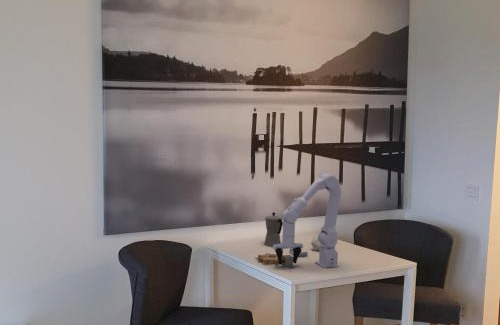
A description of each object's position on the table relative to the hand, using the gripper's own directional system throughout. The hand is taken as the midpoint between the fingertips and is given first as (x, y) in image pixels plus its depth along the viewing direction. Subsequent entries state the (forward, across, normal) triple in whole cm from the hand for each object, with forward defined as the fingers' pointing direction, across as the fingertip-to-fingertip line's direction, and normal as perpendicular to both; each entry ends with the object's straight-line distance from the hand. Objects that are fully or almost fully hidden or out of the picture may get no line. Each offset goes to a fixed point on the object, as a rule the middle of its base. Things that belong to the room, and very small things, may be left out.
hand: (287, 263), depth 269 cm
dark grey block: (+2, 0, 0) cm, 2 cm away
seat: (+1, -14, -19) cm, 24 cm away
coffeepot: (+2, -9, -41) cm, 42 cm away
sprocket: (+1, +4, -11) cm, 12 cm away
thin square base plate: (+1, +4, -11) cm, 12 cm away
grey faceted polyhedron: (+2, -29, -26) cm, 39 cm away
